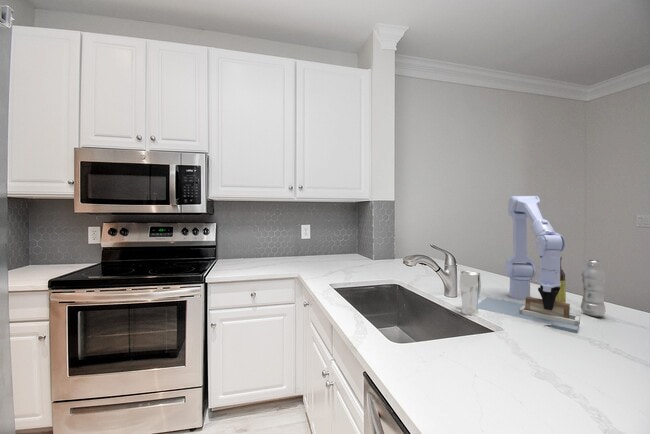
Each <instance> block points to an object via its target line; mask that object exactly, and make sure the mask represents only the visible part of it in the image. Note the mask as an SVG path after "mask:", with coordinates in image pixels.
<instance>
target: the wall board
mask: <svg viewBox="0 0 650 434" xmlns="http://www.w3.org/2000/svg"><path fill="white" fill-rule="evenodd" d="M479 309H480V310H484V311H488V312H492V313H496V314H501V315H502V314H503V315H506V316H511V317H516V318H521V319H524V320H530V321H535V322H538V323H544V324H545V325H542V326H543V327H548V328H552V329H557V330H562V331H567V332H571V333H575V334H578V333H579V328H580V319H581V316H582V315H581V314H580V313H579V314H578V313H573V312H570V316H569V319H567V318H562V317H557V316H552V315H547V314H542V313H537V312H532V311H528V310H525V303H519V302H517V301H516V302H515V301H510V300H505V299H501V298H500V299H499V298H496V297H495V298H494V297H489V296H486V297H484V299H482V300H480V302H478V310H479Z"/></svg>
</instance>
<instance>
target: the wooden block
mask: <svg viewBox="0 0 650 434" xmlns="http://www.w3.org/2000/svg"><path fill="white" fill-rule="evenodd" d="M524 304H525V310H528V311H532V312H537V313H542V314H547V315H552V316H557V317H562V318H567V319H569V316H570V313H571V311H570V310H571V304H570V303H569V302H568V303H567V302H566V303H562V302H557V301H554V306H553V309H552V310H547V309H544V306H543V301H542V298H538V297H532V296H530V297H526V300H525V303H524Z"/></svg>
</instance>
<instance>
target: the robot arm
mask: <svg viewBox="0 0 650 434" xmlns="http://www.w3.org/2000/svg"><path fill="white" fill-rule="evenodd" d="M540 207H541V199H540V197H539V196H538V195H512V196H510V197H509V199H508V202H507V208H508V209H507V211H508V216H510V217H512V247H513V249H512V251H513V252H512V253H513V254H512V255H510V256H509V257H508V258H506V260H505V266H504V271H505V275H506V276H507V277H508V278H509V297H510V298H512V299H515V300H521V301H523V300H524V301H526V297H531V281H532V280H533V279H534V278H535V277H536V275H537V270H536V265H535V261H534V260H533V259H532V258H531V257H529V256H528V241H527V240H528V237H527V236H528V233H527V230H528V229H527V219H529V220H530V222H531V223H532V224H531V225H530V229H531V230H532V232H533V234H534V235H535V238H536V242H535V245H536V248H537V255H538V256H539V268H538V269H539V270H538V274H539V275H538V279H535V280H534V283H537V284H540V285H539V287H538V288H537V291H538V292H539V295H540V297H541V299H542V301H543V306H544V309H547V310H552V309H553V306H554V301H555V299H556V296H557V294H558V293H559V290H560V287H558V286H561V283H560V257H562V256H561V252H563V251H564V249H565V247H566V241H565V237H564V236H563V235H562V234H559V233H558V232H556V231H555V230H554V228H553V226H552V224H551V223H550V222H549V220H547V219H545V218H544V217H543V215H542V213H541V211H540Z"/></svg>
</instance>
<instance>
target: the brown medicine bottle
mask: <svg viewBox="0 0 650 434" xmlns="http://www.w3.org/2000/svg"><path fill="white" fill-rule="evenodd" d="M562 259H563V258H562V256H561V257H560V283H561V286H558V287H560V290H559V293H558V294H557V296H556V299H555V301H557V302H562V303H567V293H566V291H567V290H566V288H567V287H566V285H567V284H566V282H567V281H566V274H565V272H564V270H563V269H562Z"/></svg>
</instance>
